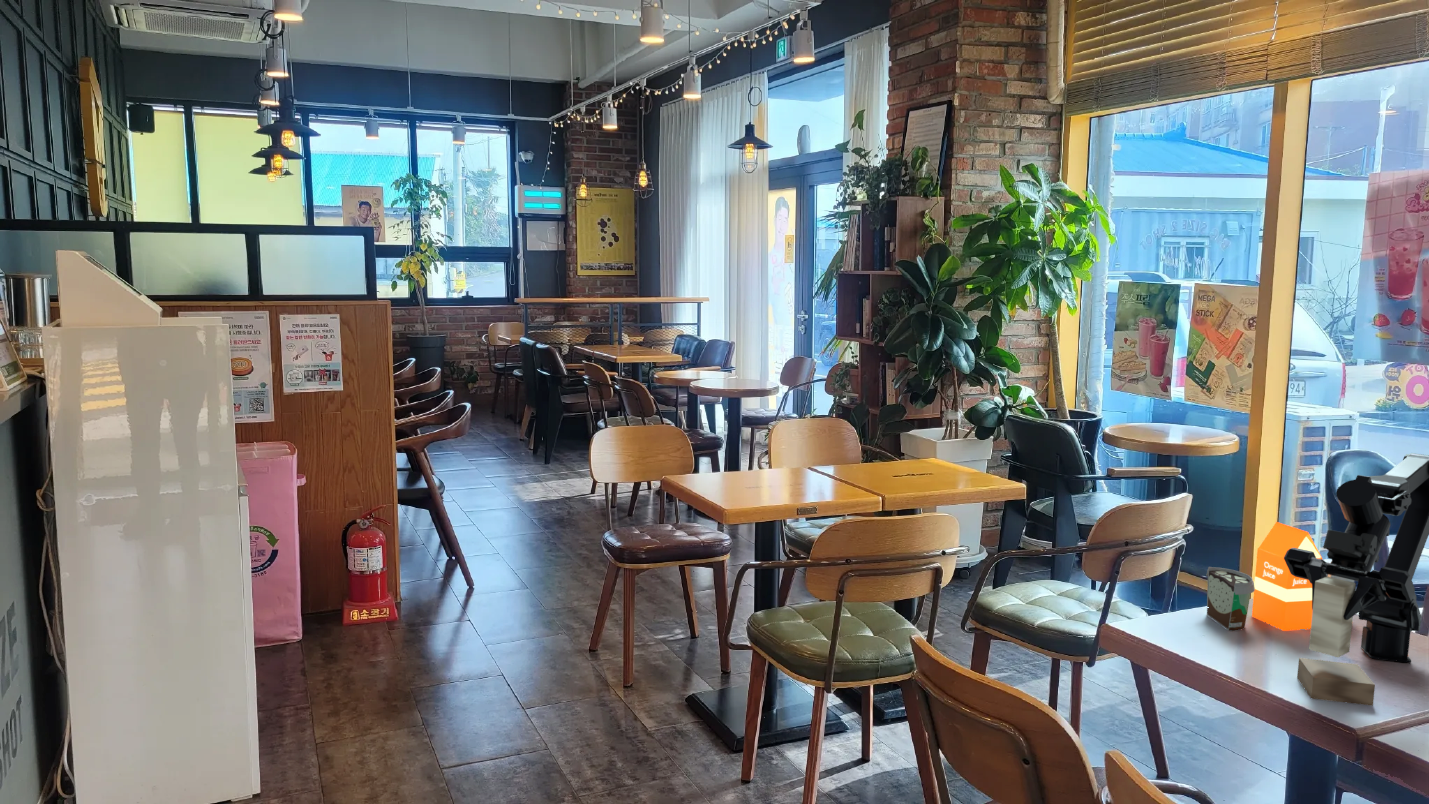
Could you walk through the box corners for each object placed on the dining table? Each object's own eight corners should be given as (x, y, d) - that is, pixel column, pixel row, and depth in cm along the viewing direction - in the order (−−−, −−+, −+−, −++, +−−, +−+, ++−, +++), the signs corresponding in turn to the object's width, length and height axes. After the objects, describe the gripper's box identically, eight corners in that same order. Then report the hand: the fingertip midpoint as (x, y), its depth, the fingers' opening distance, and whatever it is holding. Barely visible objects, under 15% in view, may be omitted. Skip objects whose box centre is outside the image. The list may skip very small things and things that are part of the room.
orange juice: (1283, 631, 199) (1291, 533, 197) (1250, 616, 208) (1258, 522, 205) (1316, 628, 201) (1325, 531, 198) (1283, 614, 209) (1291, 520, 207)
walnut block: (1355, 686, 173) (1357, 664, 173) (1372, 707, 165) (1375, 684, 164) (1296, 679, 176) (1299, 657, 175) (1310, 700, 167) (1313, 677, 167)
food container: (1263, 634, 197) (1268, 585, 196) (1232, 633, 197) (1236, 584, 196) (1233, 613, 210) (1236, 566, 208) (1203, 612, 210) (1207, 566, 208)
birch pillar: (1320, 643, 173) (1326, 576, 172) (1349, 651, 170) (1355, 583, 168) (1309, 649, 170) (1315, 581, 169) (1337, 657, 167) (1344, 588, 165)
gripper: (1293, 502, 177) (1258, 574, 172) (1415, 524, 162) (1381, 603, 157) (1309, 539, 183) (1276, 609, 177) (1428, 563, 168) (1396, 640, 163)
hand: (1329, 614), depth 168 cm, fingers closed on birch pillar, 4 cm apart
